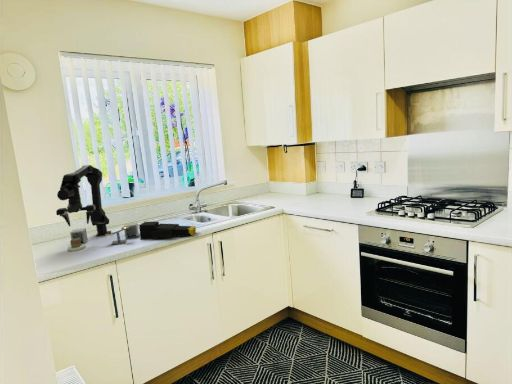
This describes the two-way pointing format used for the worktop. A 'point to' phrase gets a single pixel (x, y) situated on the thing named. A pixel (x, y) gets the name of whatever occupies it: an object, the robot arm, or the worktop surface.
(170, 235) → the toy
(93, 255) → the worktop surface
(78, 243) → the block
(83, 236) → the cover
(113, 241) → the balance
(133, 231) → the cover
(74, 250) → the dish
